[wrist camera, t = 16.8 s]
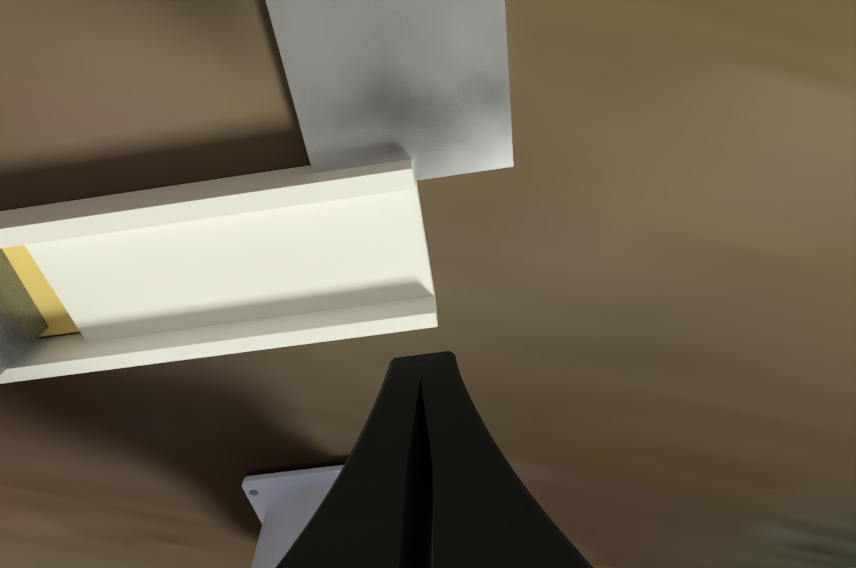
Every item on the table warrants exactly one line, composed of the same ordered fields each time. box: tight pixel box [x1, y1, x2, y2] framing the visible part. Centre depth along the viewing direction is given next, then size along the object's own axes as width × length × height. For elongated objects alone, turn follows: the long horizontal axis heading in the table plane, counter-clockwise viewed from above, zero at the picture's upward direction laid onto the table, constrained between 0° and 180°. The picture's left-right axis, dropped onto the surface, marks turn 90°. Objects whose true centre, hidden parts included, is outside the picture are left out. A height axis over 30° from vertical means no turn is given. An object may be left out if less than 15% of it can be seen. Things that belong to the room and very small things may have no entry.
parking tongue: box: [266, 0, 513, 181], centre depth 16 cm, size 7×7×1 cm
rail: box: [0, 159, 438, 384], centre depth 20 cm, size 7×24×2 cm, turn 98°
